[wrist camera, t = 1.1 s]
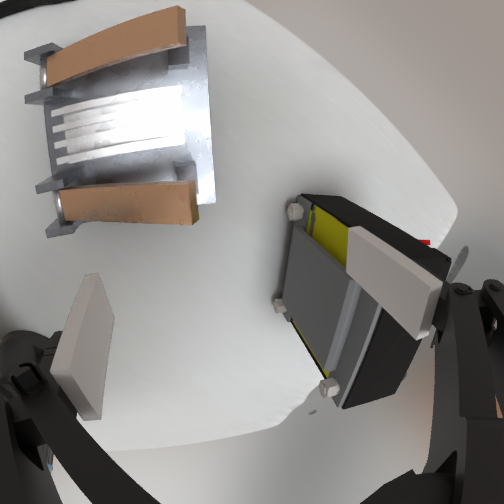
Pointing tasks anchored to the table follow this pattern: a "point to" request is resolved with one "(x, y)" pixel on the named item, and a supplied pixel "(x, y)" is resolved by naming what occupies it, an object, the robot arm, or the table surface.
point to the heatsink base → (136, 159)
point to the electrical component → (347, 300)
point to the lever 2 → (132, 202)
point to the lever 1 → (119, 45)
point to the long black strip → (22, 5)
